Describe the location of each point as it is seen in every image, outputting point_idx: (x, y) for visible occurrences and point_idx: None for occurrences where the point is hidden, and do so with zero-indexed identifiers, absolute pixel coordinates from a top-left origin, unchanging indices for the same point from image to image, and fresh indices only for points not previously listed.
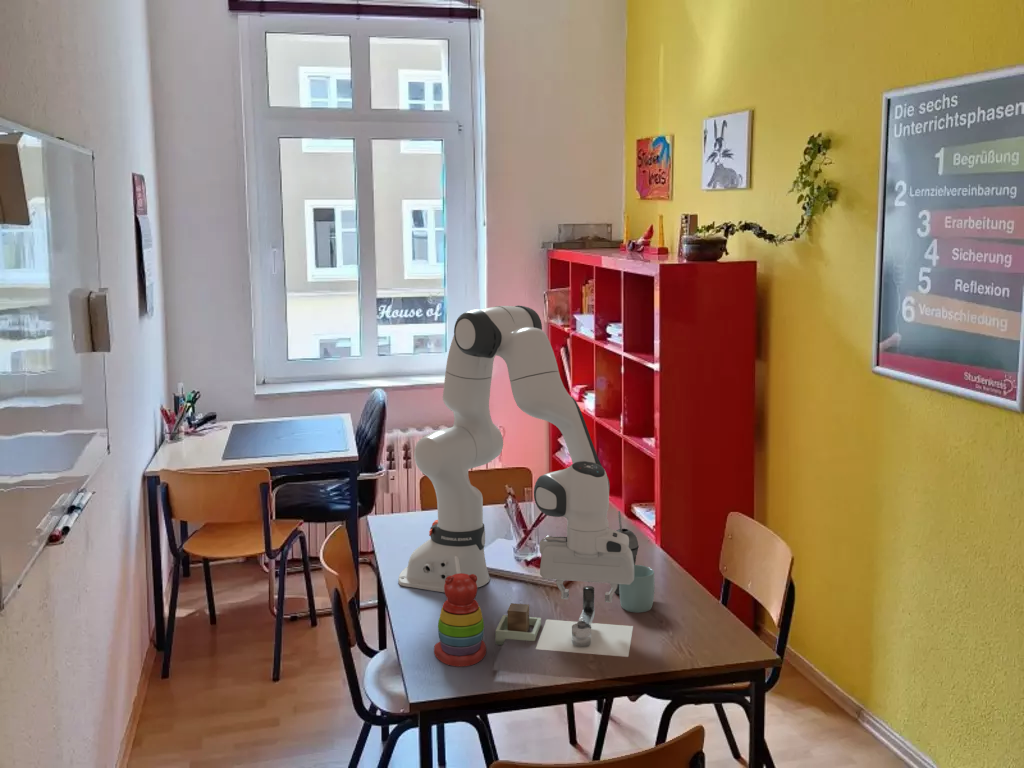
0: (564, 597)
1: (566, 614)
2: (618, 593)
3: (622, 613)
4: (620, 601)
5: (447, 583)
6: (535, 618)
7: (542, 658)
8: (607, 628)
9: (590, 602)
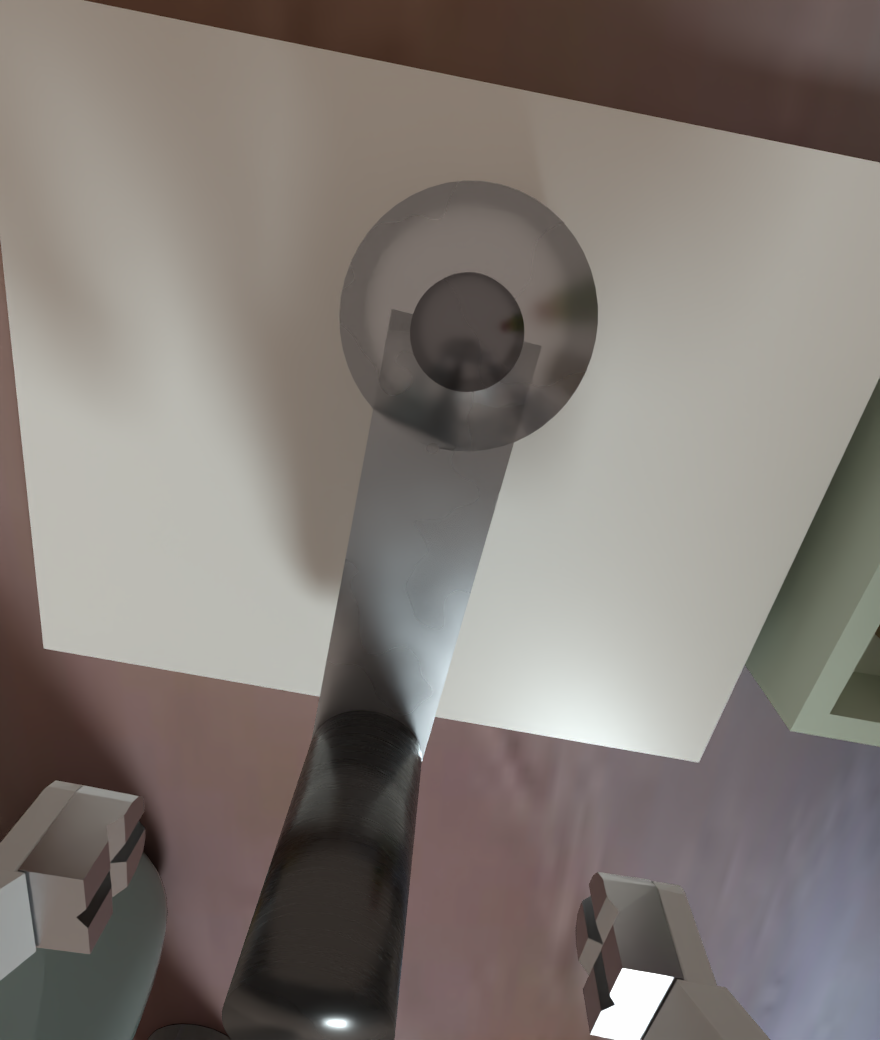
0: (646, 893)
1: (520, 857)
2: (212, 1036)
3: (175, 856)
4: (151, 937)
5: None
6: (843, 722)
7: (862, 131)
8: (235, 615)
9: (323, 798)
